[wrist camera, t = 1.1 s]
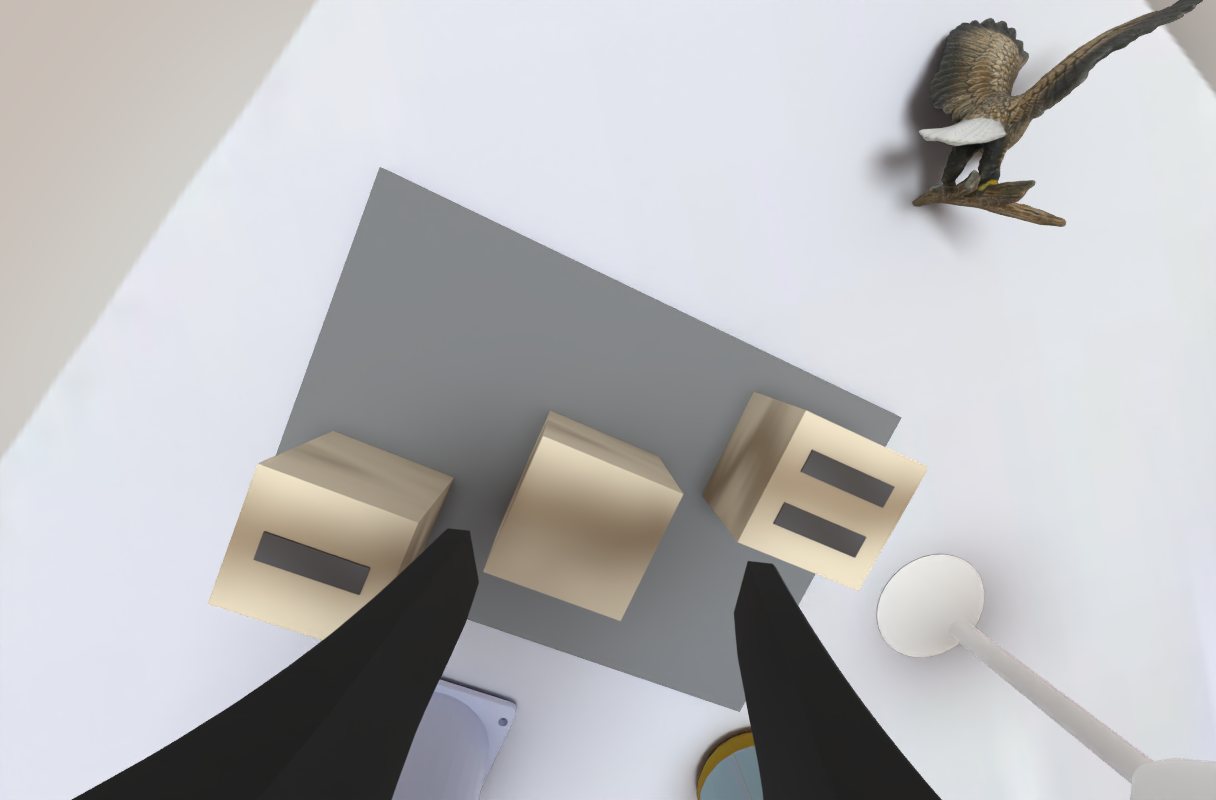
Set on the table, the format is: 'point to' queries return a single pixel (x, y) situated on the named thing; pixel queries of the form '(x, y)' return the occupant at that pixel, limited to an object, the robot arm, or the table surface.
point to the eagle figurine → (1008, 105)
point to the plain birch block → (584, 518)
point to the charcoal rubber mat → (523, 397)
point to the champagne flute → (1018, 671)
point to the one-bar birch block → (326, 533)
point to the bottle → (731, 772)
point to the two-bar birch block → (810, 490)
